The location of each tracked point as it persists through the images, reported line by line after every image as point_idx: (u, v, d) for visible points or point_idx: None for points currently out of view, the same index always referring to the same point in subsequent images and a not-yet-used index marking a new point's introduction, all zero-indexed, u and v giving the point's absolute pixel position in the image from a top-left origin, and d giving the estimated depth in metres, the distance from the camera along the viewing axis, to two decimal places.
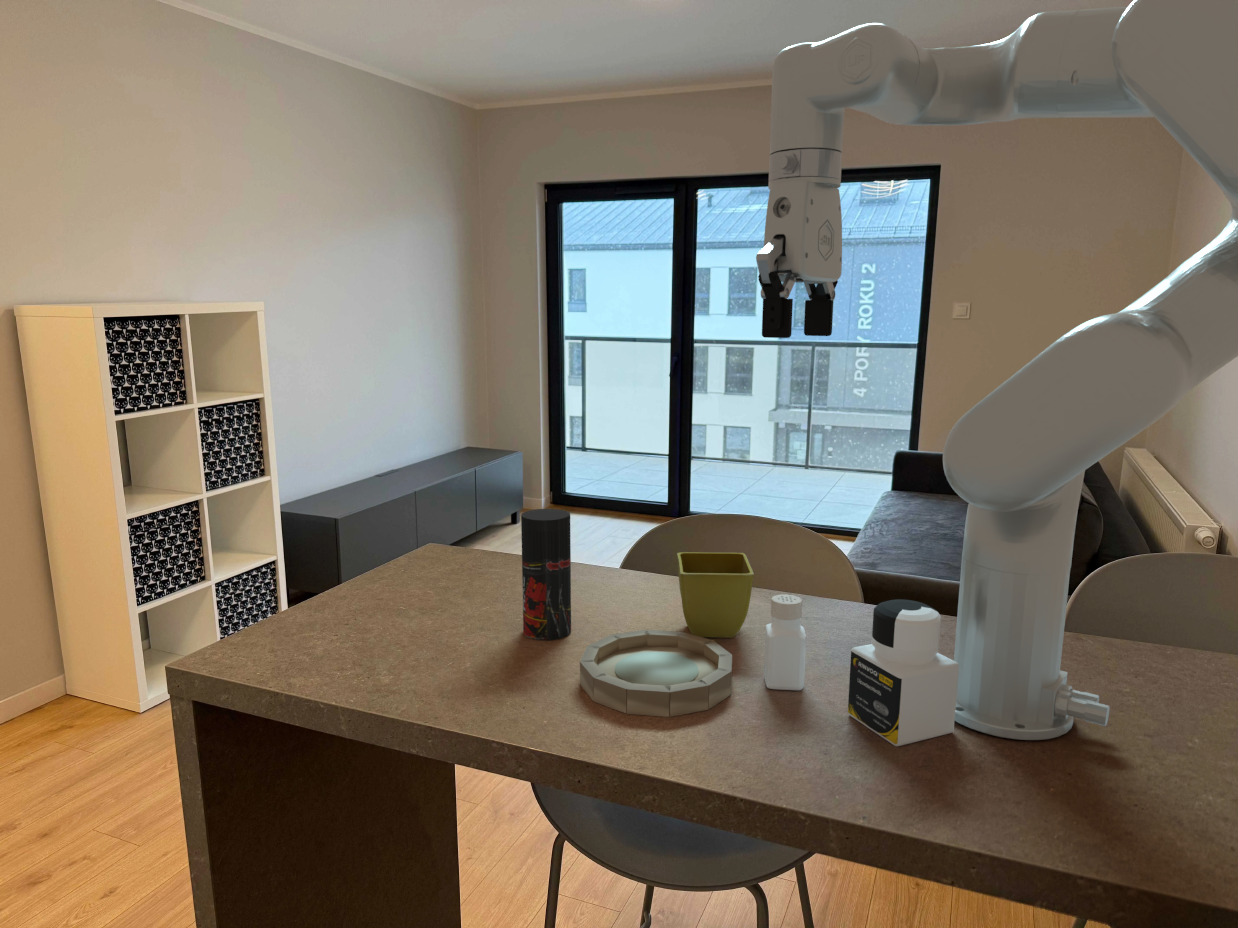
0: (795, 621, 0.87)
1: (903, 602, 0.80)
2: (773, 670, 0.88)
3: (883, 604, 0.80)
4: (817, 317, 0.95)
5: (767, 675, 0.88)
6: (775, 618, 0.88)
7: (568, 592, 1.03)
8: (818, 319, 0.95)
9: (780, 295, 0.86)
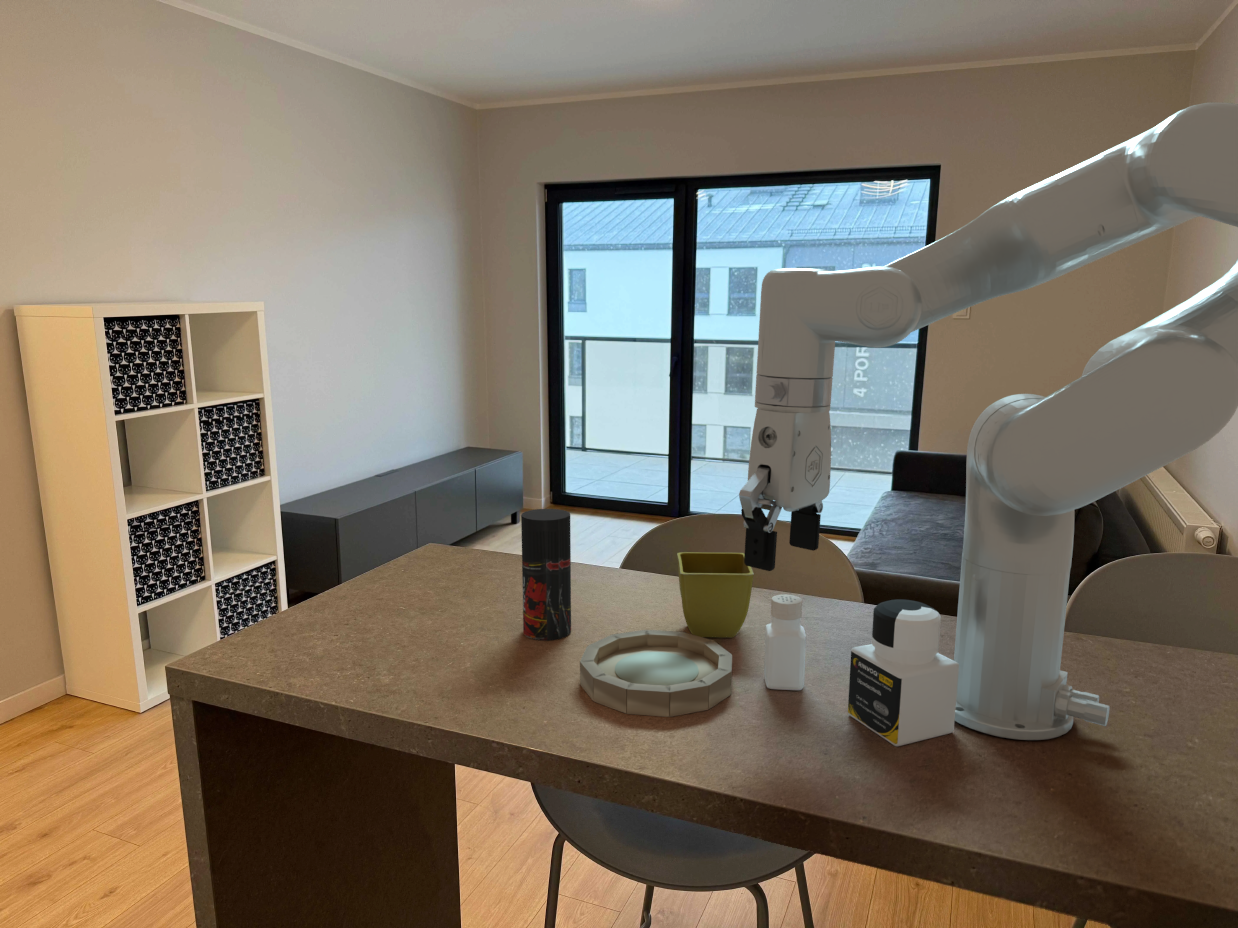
0: (795, 621, 0.87)
1: (903, 602, 0.80)
2: (773, 670, 0.88)
3: (883, 604, 0.80)
4: (803, 530, 0.91)
5: (767, 675, 0.88)
6: (775, 618, 0.88)
7: (568, 592, 1.03)
8: (804, 532, 0.91)
9: (764, 529, 0.82)
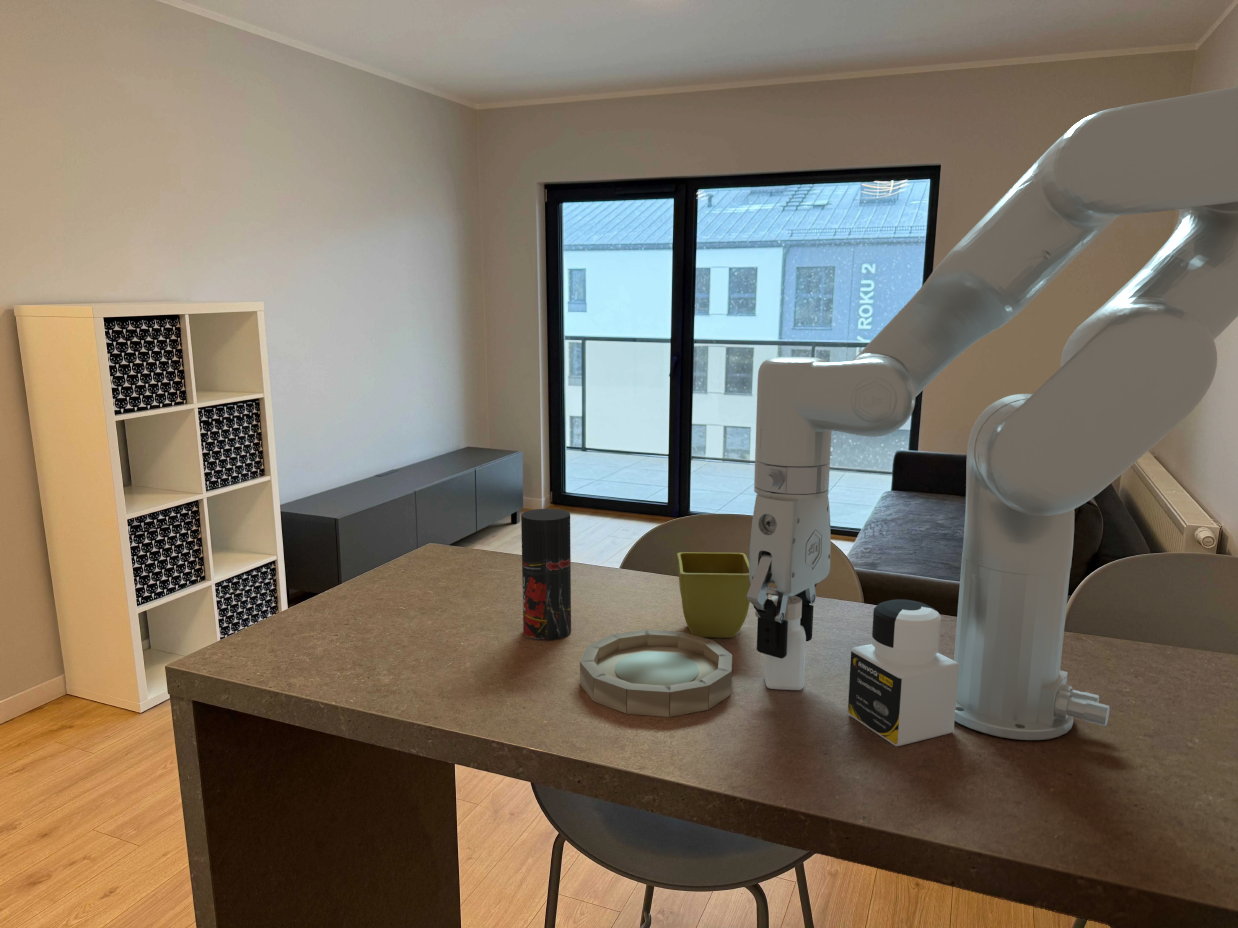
0: (794, 621, 0.87)
1: (903, 602, 0.80)
2: (773, 670, 0.88)
3: (883, 604, 0.80)
4: None
5: (767, 675, 0.88)
6: None
7: (568, 592, 1.03)
8: None
9: (776, 621, 0.85)
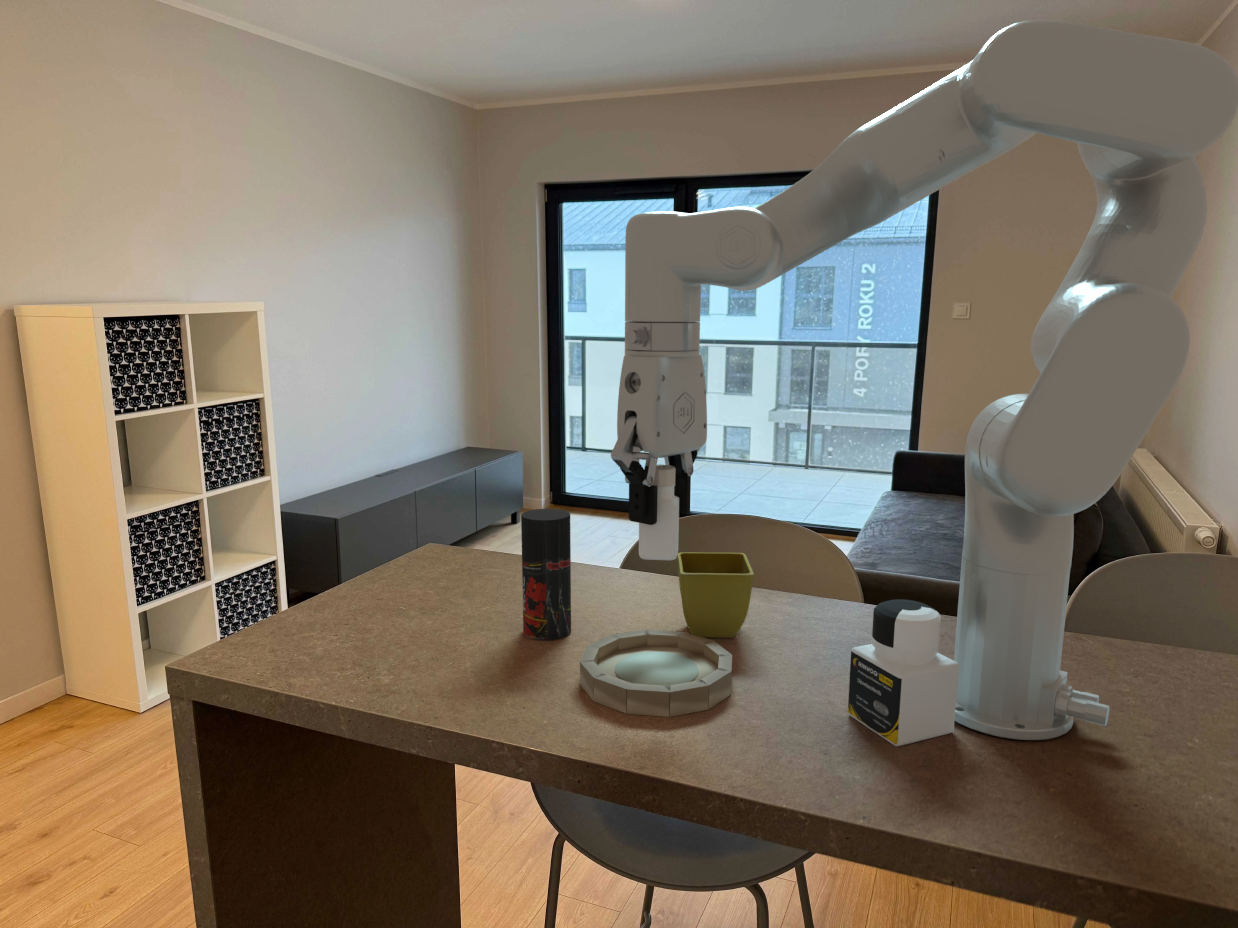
0: (666, 488, 0.86)
1: (903, 602, 0.80)
2: (645, 539, 0.86)
3: (883, 604, 0.80)
4: (674, 493, 0.89)
5: (639, 545, 0.86)
6: None
7: (568, 592, 1.03)
8: None
9: (644, 485, 0.83)
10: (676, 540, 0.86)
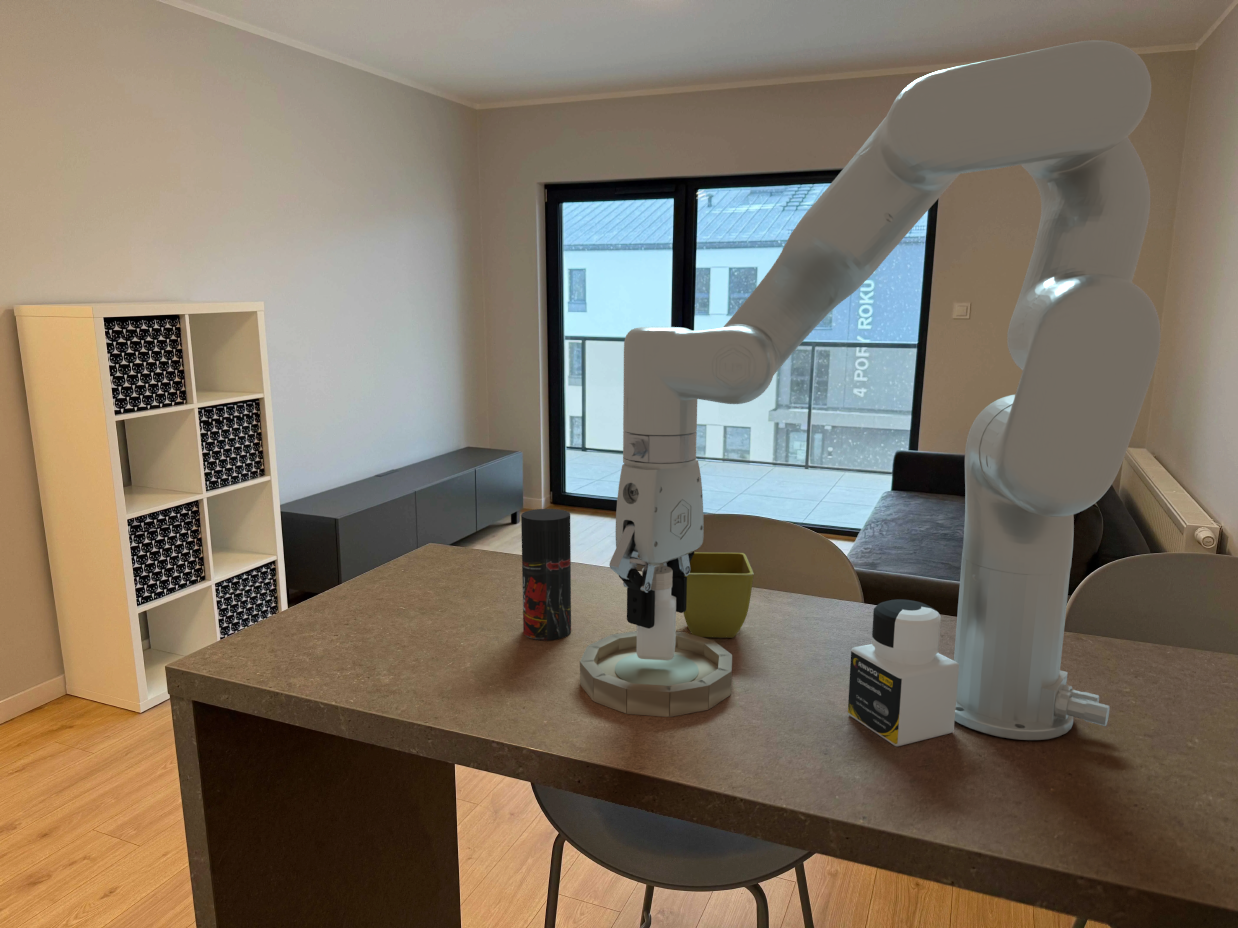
0: (664, 591, 0.88)
1: (903, 602, 0.80)
2: (643, 640, 0.88)
3: (883, 604, 0.80)
4: (671, 592, 0.91)
5: (637, 645, 0.88)
6: None
7: (568, 592, 1.03)
8: (672, 594, 0.91)
9: (642, 591, 0.85)
10: (673, 641, 0.88)
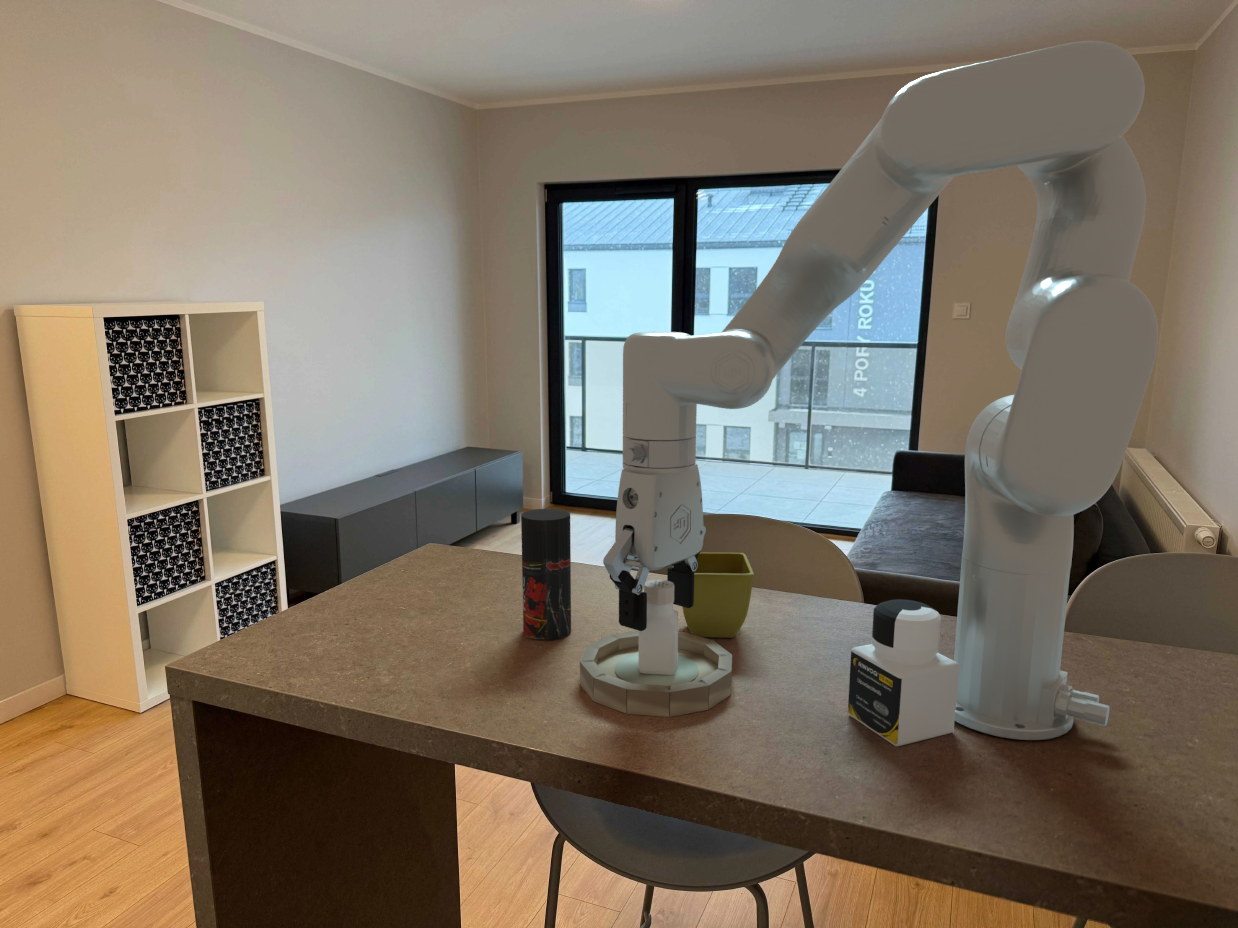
0: (665, 606, 0.88)
1: (903, 602, 0.80)
2: (644, 654, 0.88)
3: (883, 604, 0.80)
4: (679, 588, 0.92)
5: (639, 660, 0.89)
6: None
7: (568, 592, 1.03)
8: (680, 590, 0.92)
9: (633, 592, 0.84)
10: (675, 656, 0.88)
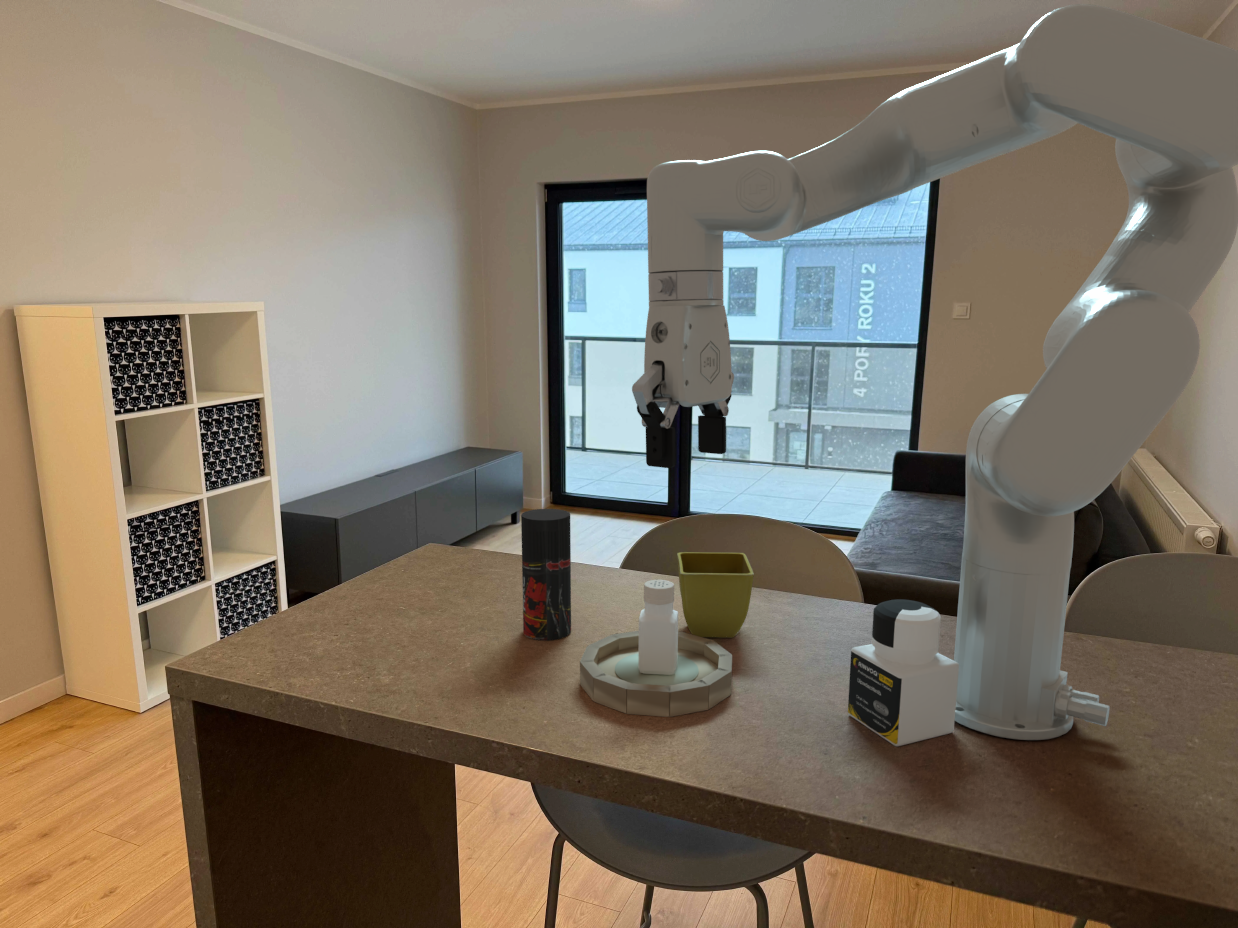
0: (665, 606, 0.88)
1: (903, 602, 0.80)
2: (644, 654, 0.88)
3: (883, 604, 0.80)
4: (710, 434, 0.90)
5: (639, 660, 0.89)
6: (646, 603, 0.88)
7: (568, 592, 1.03)
8: (711, 436, 0.90)
9: (661, 425, 0.81)
10: (675, 656, 0.88)
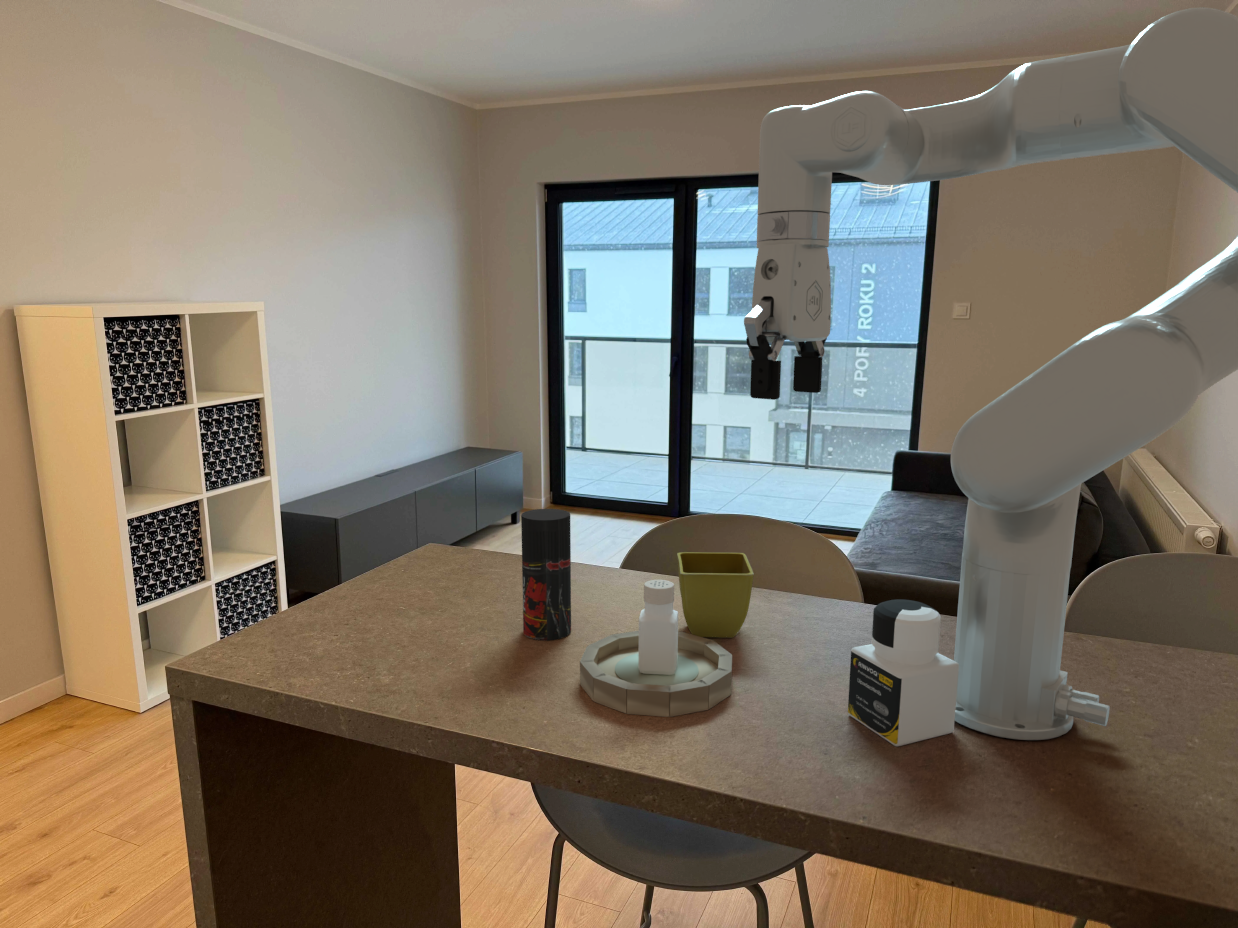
0: (665, 606, 0.88)
1: (903, 602, 0.80)
2: (644, 654, 0.88)
3: (883, 604, 0.80)
4: (806, 374, 0.95)
5: (639, 660, 0.89)
6: (646, 603, 0.88)
7: (568, 592, 1.03)
8: (807, 376, 0.95)
9: (768, 357, 0.86)
10: (675, 656, 0.88)
